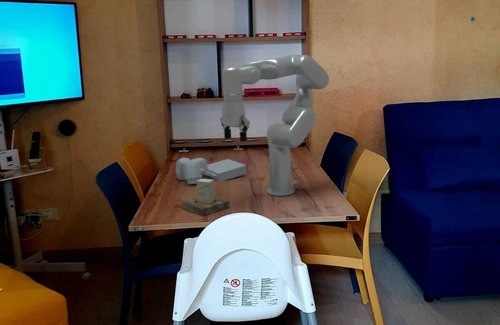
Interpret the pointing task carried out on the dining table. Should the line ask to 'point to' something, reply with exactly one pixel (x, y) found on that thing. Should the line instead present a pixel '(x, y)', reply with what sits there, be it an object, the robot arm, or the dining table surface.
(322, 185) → the dining table surface
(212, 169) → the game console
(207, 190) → the skincare box
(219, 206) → the socket stand
